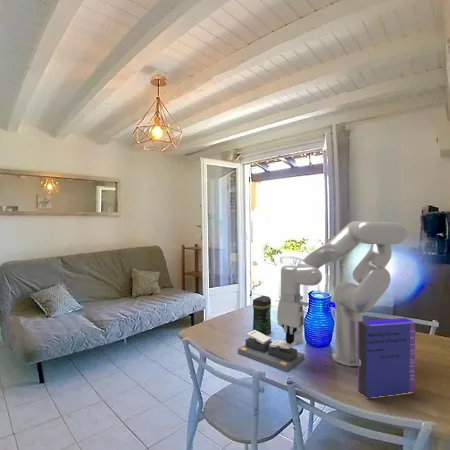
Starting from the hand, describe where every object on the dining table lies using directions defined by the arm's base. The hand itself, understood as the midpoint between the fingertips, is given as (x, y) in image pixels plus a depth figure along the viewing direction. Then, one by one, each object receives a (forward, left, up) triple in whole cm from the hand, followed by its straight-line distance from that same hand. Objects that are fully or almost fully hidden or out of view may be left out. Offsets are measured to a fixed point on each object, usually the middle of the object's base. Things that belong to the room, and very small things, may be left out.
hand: (290, 342), depth 123 cm
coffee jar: (+27, -18, -9) cm, 33 cm away
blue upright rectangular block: (-34, -3, -9) cm, 36 cm away
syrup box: (+10, -20, -9) cm, 24 cm away
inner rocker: (+4, 0, -2) cm, 4 cm away
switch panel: (+10, 0, -9) cm, 13 cm away
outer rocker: (+16, 0, -2) cm, 16 cm away
